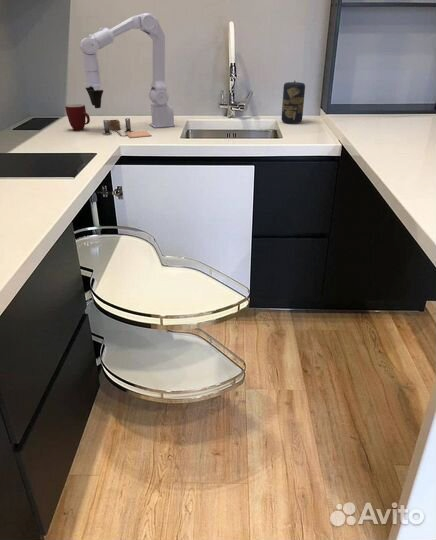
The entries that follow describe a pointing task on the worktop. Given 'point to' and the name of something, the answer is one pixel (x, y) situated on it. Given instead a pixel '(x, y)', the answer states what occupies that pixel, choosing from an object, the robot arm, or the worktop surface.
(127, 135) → the grey flat l-shaped piece
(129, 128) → the post
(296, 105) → the canister
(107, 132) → the post
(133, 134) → the pad
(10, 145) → the worktop surface
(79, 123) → the mug
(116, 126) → the open wooden crate
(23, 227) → the worktop surface
